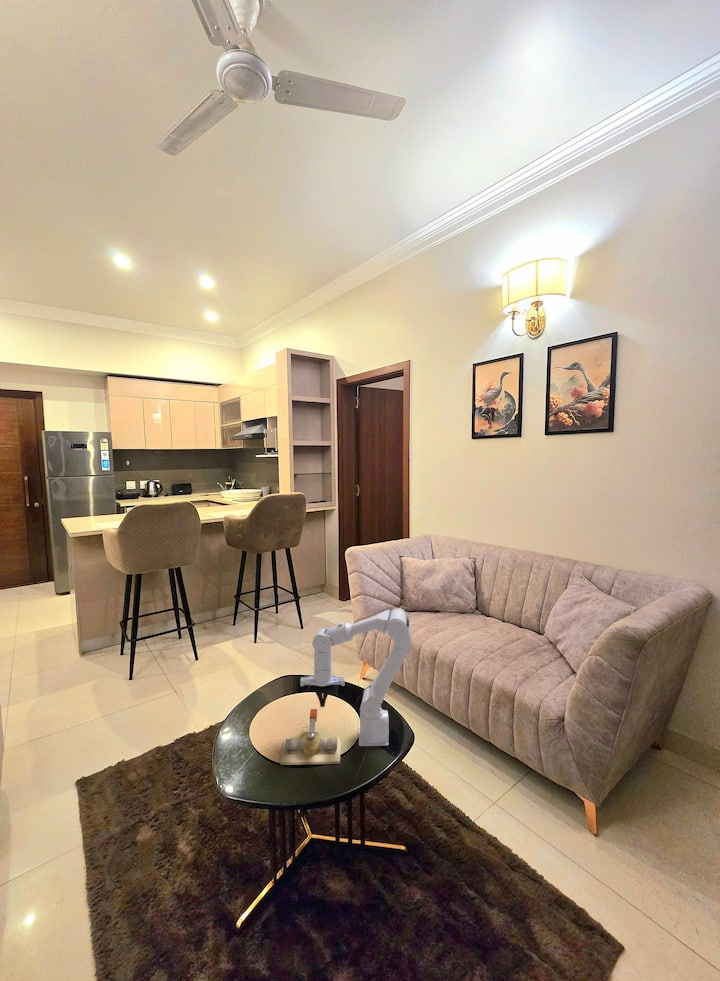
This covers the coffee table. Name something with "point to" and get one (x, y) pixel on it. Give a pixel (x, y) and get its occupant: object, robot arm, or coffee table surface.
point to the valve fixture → (310, 751)
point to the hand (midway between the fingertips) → (322, 705)
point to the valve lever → (312, 723)
